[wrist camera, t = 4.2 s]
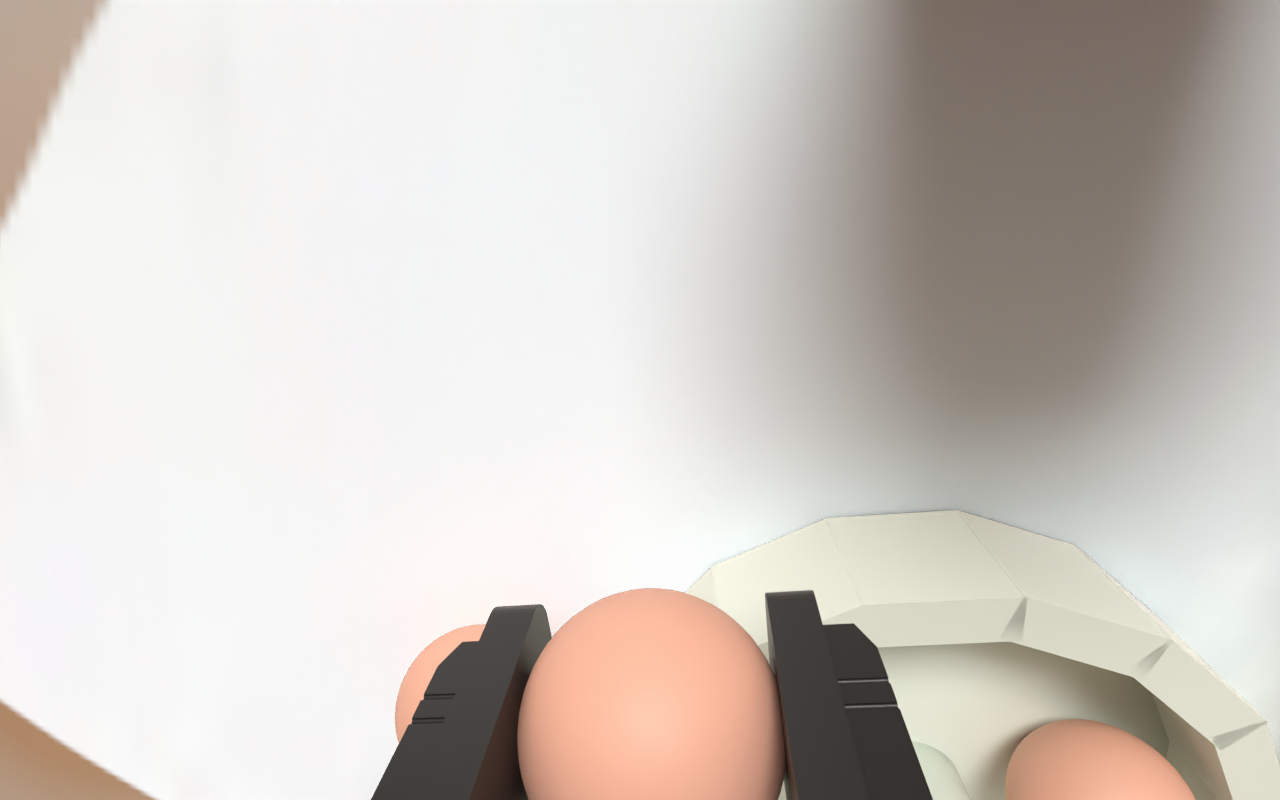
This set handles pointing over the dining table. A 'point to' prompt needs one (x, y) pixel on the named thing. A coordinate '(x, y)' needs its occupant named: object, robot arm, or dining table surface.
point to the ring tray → (1004, 647)
